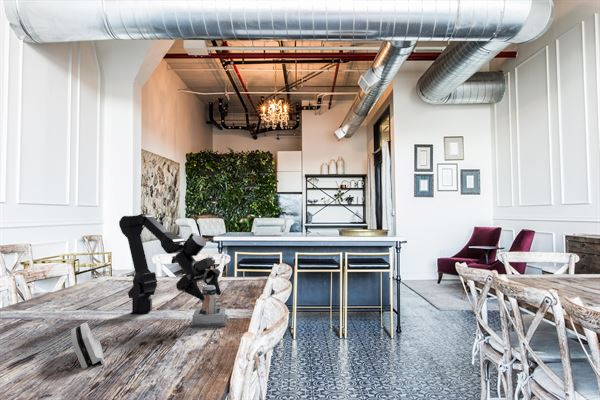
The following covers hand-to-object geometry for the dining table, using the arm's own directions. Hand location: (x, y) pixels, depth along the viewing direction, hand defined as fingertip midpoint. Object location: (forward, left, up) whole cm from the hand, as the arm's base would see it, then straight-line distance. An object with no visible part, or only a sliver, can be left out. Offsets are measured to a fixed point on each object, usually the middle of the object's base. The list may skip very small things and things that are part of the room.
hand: (212, 297), depth 136 cm
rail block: (-1, +1, -9) cm, 9 cm away
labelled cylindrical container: (-1, +1, -8) cm, 8 cm away
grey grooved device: (-31, -28, -10) cm, 43 cm away
